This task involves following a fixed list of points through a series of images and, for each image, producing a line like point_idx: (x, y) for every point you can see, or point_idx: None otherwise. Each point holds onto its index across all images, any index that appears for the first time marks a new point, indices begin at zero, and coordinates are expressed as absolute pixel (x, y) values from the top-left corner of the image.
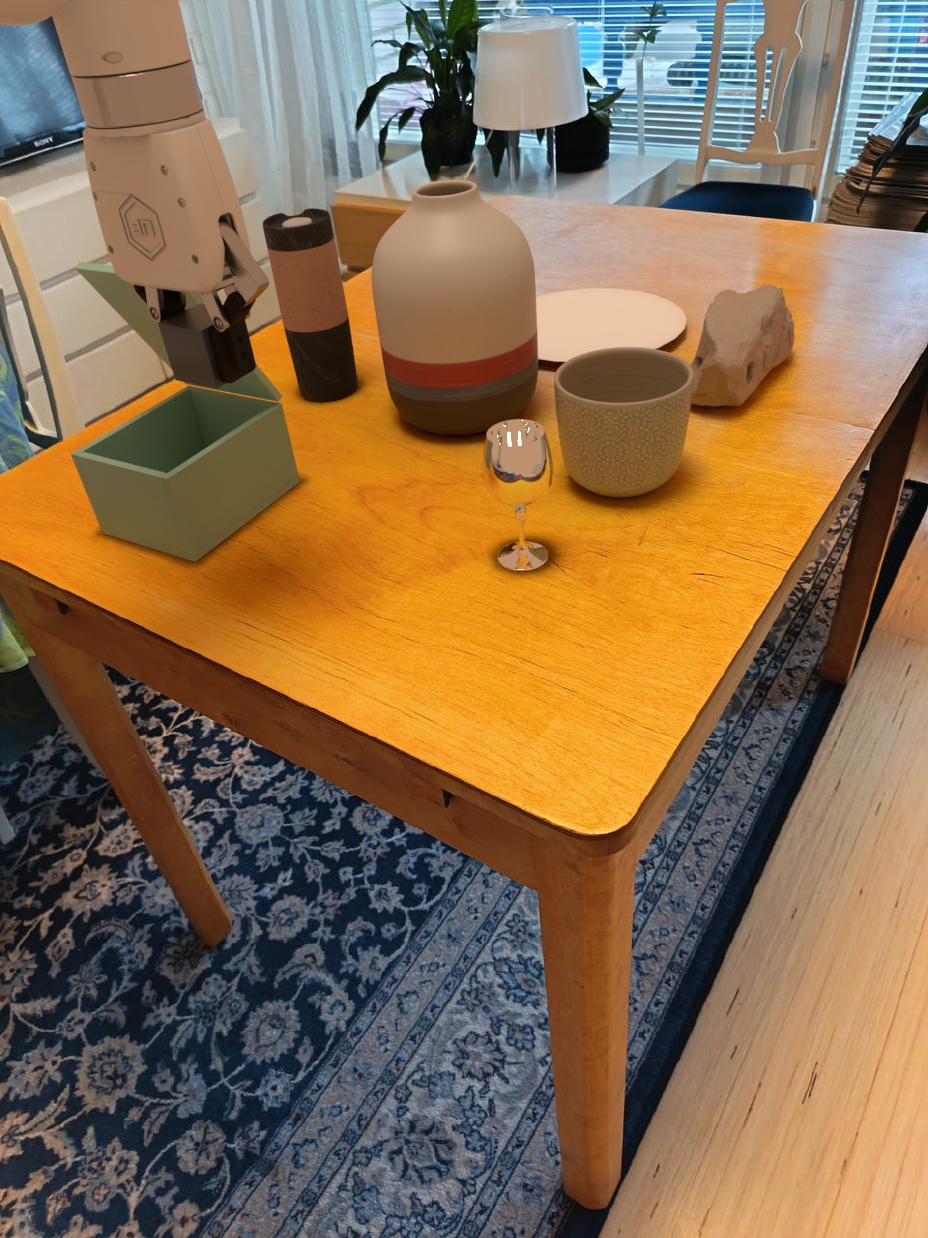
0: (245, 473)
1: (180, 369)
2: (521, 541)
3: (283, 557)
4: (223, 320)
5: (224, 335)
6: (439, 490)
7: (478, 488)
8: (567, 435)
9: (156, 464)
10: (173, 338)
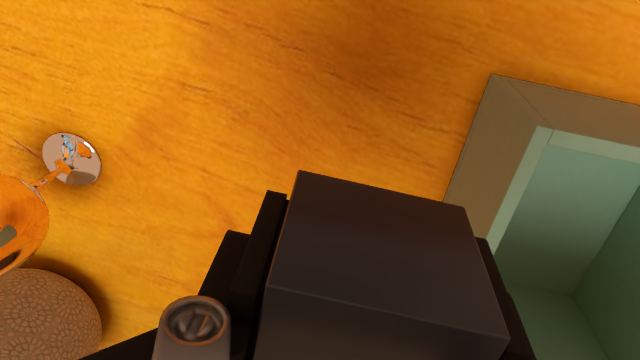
0: None
1: (433, 219)
2: (57, 167)
3: (362, 108)
4: (160, 327)
5: (225, 300)
6: None
7: (191, 273)
8: (36, 324)
9: (636, 247)
10: (437, 287)
